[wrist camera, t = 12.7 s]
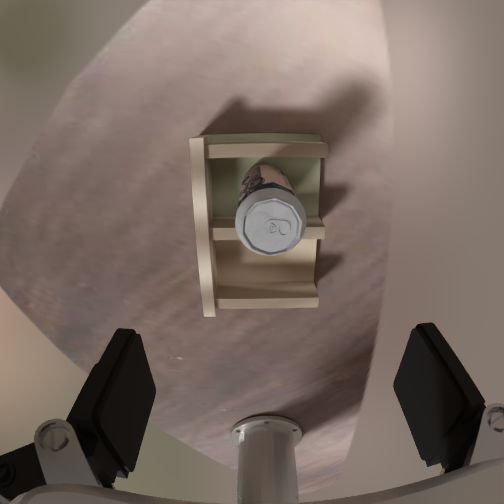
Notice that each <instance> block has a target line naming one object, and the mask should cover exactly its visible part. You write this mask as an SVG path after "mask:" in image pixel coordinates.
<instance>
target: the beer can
mask: <svg viewBox="0 0 504 504" xmlns="http://www.w3.org/2000/svg"><path fill="white" fill-rule="evenodd" d="M235 228H236V231H237V234H238V237H239V238H240V240H241V241H242V243H243V244H244V245H245V246H246V247H247V248H248V249H250V250H251V251H253V252H255V253H257V254H261V255H266V256H274V255H279V254H283V253H286V252H288V251H290V250H291V249H293V248H294V247H295V246H296V245H297V244H298V243H299V242H300V240H301V239H302V237H303V235H304V233H305V229H306V214H305V210H304V208H303V206H302V205H301V203H300V201H299V200H298V199H297V197H296V195H295V193H294V191H293V189H292V187H291V186H290V184H289V181H288V178H287V177H286V175H285V174H284V172H283V171H282V170H280V169H279V168H277V167H275V166H273V165H268V164H263V165H258V166H255V167H253V168H252V169H250V170H249V171H248V172H247V173H246V174H245V176H244V177H243V179H242V183H241V192H240V198H239V204H238V210H237V213H236V219H235Z"/></svg>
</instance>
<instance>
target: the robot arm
mask: <svg viewBox="0 0 504 504" xmlns="http://www.w3.org/2000/svg"><path fill="white" fill-rule="evenodd" d="M394 391H395V393H396V396H397V398H398V401H399V403H400V405H401V408H402V411H403V413H404V416H405V418H406V421H407V423H408V425H409V428H410V431H411V433H412V436H413V439H414V441H415V444H416V447H417V449H418V452H419V455H420V457H421V459H422V460H425V461H426V464H427V467H429V466H432V465H435V464H438V463H441V465H442V470H441V472H440V475H439V476H436V477H433V478H429V479H426V480H422V481H419V482H415V483H412V484H408V485H405V486H400V487H396V488H392V489H388V490H384V491H379V492H374V493H369V494H363V495H358V496H352V497H346V498H339V499H332V500H323V501H315V502H304V503H299V497H298V484H297V472H296V461H295V450H294V447H295V446H296V445H297V444H299V442H300V441H301V439H302V430H301V428H300V426H299V425H298V424H297V423H296V422H294V421H292V420H290V419H287V418H284V417H279V416H257V417H252V418H248V419H245V420H243V421H241V422H239V423H237V424H236V425H235V426H234V427H233V428H232V430H231V434H230V440H231V442H232V444H233V445H234V446H235V447H237V448H238V449H239V451H238V476H237V498H236V499H237V501H236V504H504V405H503V404H499V403H495V404H491V405H489V406H487V407H486V406H485V405H484V403H485V400H484V398H483V397H482V395H481V394H480V392H479V390H478V388H477V387H476V385H475V384H474V382H473V381H472V379H471V378H470V376H469V374H468V373H467V371H466V370H465V368H464V367H463V365H462V364H461V362H460V360H459V359H458V357H457V356H456V354H455V353H454V352H453V350H452V349H451V347H450V346H449V344H448V343H447V341H446V340H445V338H444V337H443V336H442V334H441V333H440V331H439V330H438V329H437V327H436V326H435V324H433V323H422V324H417V326H416V327H415V328H414V329H412V331H411V334H410V337H409V340H408V343H407V346H406V349H405V352H404V355H403V358H402V361H401V364H400V367H399V369H398V372H397V375H396V377H395V380H394ZM155 395H156V388H155V384H154V381H153V378H152V374H151V371H150V368H149V364H148V361H147V357H146V354H145V350H144V346H143V343H142V339H141V336H140V334H136V332H135V330H133V329H122V328H118V329H117V330H116V332H115V333H114V335H113V337H112V339H111V341H110V342H109V344H108V346H107V348H106V350H105V351H104V353H103V355H102V357H101V359H100V361H99V362H98V363H97V364H95V366H94V367H93V369H92V370H91V372H90V374H89V376H88V378H87V380H86V382H85V384H84V386H83V387H82V389H81V391H80V393H79V395H78V397H77V399H76V401H75V403H74V405H73V407H72V409H71V411H70V413H69V415H68V417H67V419H66V421H65V420H62V419H51V420H48V421H46V422H44V423H42V424H41V425H40V426H39V427H38V429H37V430H36V432H35V435H34V442H33V443H31V444H29V445H26V446H24V447H21V448H19V449H16V450H14V451H11V452H9V453H6V454H4V455H1V456H0V504H217V503H203V502H192V501H183V500H174V499H166V498H160V497H153V496H146V495H140V494H135V493H129V492H125V491H119V490H116V488H115V486H114V484H113V483H114V482H115V478H116V476H117V477H121V478H128V474H129V472H133V470H134V468H135V465H136V461H137V458H138V454H139V450H140V447H141V443H142V440H143V436H144V433H145V429H146V426H147V422H148V419H149V416H150V412H151V409H152V406H153V402H154V399H155Z"/></svg>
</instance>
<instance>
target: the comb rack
mask: <svg viewBox="0 0 504 504" xmlns="http://www.w3.org/2000/svg"><path fill="white" fill-rule="evenodd" d="M189 140H190V160H191V177H192V192H193V206H194V219H195V231H196V243H197V254H198V264H199V274H200V284H201V293H202V302H203V311H204V317H215V316H216V311H217V309H250V308H304V307H318V302H319V296H318V293H317V290H316V287H315V284H314V271H315V258H316V243H317V239H324V234H325V226H324V225H323V223H322V221H321V220H320V218H319V216H318V209H319V187H320V158H328V155H329V145H328V144H326V143H323V142H321V135H320V134H295V133H245V134H215V135H199V136H196V137H192V138H189ZM263 164H268V165H273V166H275V167H277V168H279V169H280V170H282V171H283V172H284V174H285V175H286V177H287V178H288V181H289V184H290V186H291V187H292V189H293V191H294V193H295V195H296V197H297V199H298V200H299V201H300V203H301V205H302V206H303V208H304V210H305V214H306V229H305V233H304V235H303V237H302V239H301V240H300V242H299V243H298V244H297V245H296V246H295V247H294V248H293V249H291V250H290V251H288V252H286V253H283V254H279V255H274V256H266V255H261V254H257V253H255V252H253V251H251V250H250V249H248V248H247V247H246V246H245V245H244V244H243V243H242V241H241V240H240V238H239V237H238V234H237V231H236V228H235V219H236V213H237V210H238V204H239V198H240V192H241V183H242V179H243V177H244V176H245V174H246V173H247V172H248V171H249V170H250V169H252V168H253V167H255V166H258V165H263Z"/></svg>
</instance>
